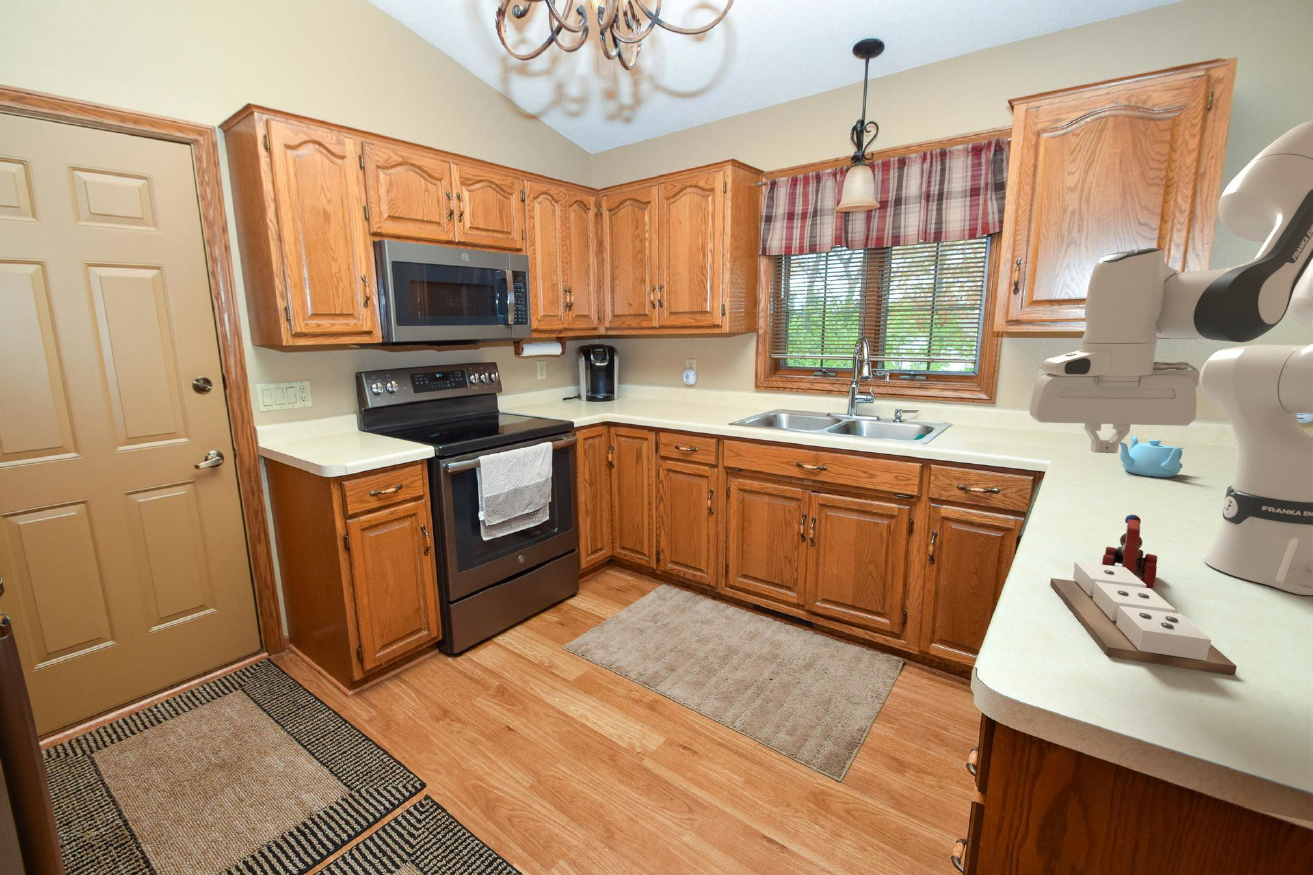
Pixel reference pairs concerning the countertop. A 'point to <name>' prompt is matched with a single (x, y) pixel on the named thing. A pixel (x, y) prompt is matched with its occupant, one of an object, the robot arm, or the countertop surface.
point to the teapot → (1151, 458)
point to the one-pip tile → (1103, 576)
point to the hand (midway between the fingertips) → (1103, 452)
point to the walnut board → (1116, 640)
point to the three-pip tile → (1163, 633)
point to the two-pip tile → (1127, 599)
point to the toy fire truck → (1133, 554)
